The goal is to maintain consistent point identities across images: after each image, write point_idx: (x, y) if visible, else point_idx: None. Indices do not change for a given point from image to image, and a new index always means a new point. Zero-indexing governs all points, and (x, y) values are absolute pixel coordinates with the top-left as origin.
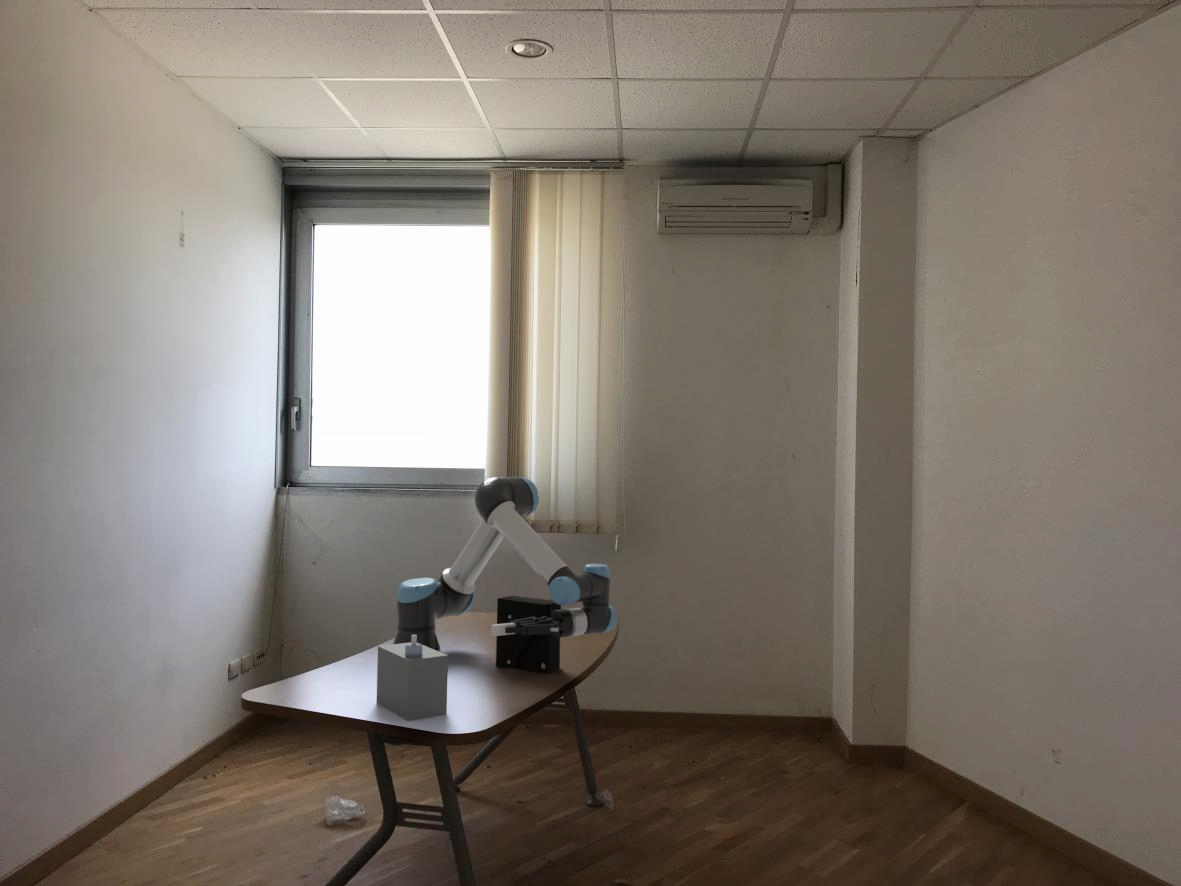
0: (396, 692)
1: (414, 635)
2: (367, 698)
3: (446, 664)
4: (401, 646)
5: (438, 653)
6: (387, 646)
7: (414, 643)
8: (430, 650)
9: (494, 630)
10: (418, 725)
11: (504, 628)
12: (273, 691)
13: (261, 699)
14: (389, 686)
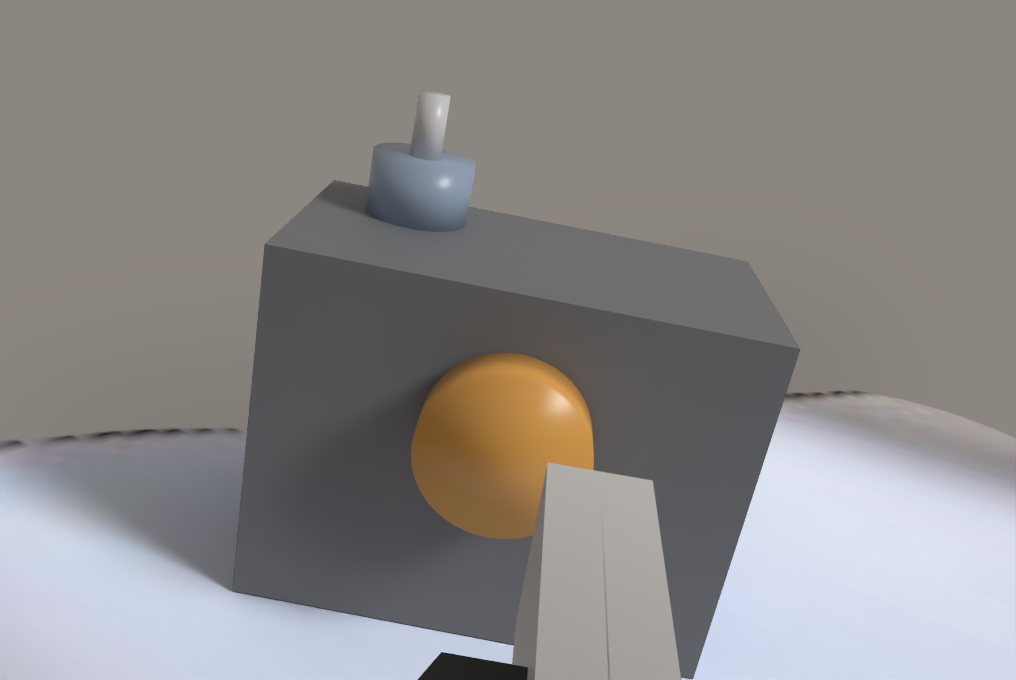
0: None
1: (428, 92)
2: (768, 552)
3: (262, 301)
4: (683, 280)
5: (357, 252)
6: (718, 267)
7: (412, 137)
8: (473, 273)
9: (532, 539)
10: (207, 454)
11: (526, 672)
12: (998, 453)
13: (888, 406)
14: None
